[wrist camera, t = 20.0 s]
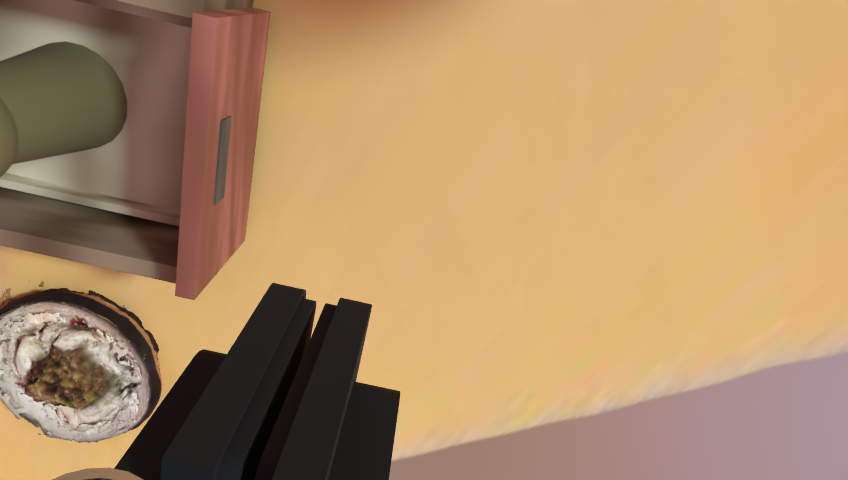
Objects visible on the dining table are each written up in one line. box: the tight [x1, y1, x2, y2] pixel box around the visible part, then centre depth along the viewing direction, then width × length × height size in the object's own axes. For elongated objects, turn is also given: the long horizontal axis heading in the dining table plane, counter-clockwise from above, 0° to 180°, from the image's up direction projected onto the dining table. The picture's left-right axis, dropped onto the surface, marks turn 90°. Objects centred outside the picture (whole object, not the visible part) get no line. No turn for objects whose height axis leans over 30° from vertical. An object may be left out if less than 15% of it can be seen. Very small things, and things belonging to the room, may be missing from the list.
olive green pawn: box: [0, 41, 127, 177], centre depth 29 cm, size 6×6×11 cm
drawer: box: [0, 0, 270, 300], centre depth 31 cm, size 16×14×8 cm
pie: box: [0, 281, 162, 443], centre depth 42 cm, size 15×15×4 cm
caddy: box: [0, 0, 253, 283], centre depth 32 cm, size 16×15×7 cm
